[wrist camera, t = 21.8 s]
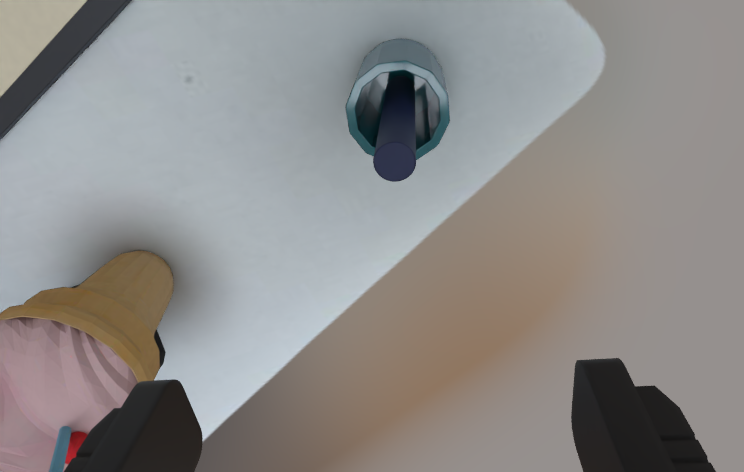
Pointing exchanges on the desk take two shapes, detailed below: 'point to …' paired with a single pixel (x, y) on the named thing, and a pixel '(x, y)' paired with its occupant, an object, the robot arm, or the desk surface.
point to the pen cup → (371, 89)
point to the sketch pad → (43, 46)
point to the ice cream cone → (77, 358)
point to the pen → (397, 131)
